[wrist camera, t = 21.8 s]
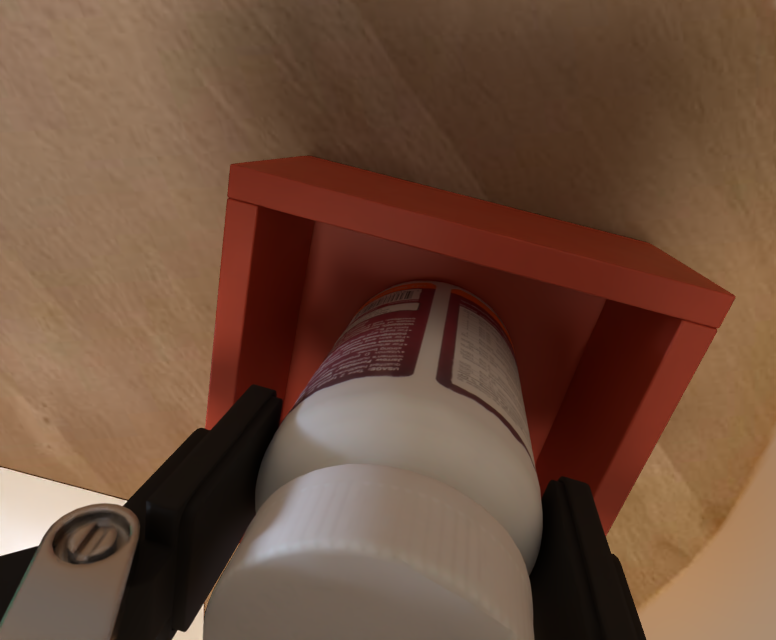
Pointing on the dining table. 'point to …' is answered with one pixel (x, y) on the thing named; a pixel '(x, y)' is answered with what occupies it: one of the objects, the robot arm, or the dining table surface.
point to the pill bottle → (395, 488)
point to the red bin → (483, 279)
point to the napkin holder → (50, 518)
